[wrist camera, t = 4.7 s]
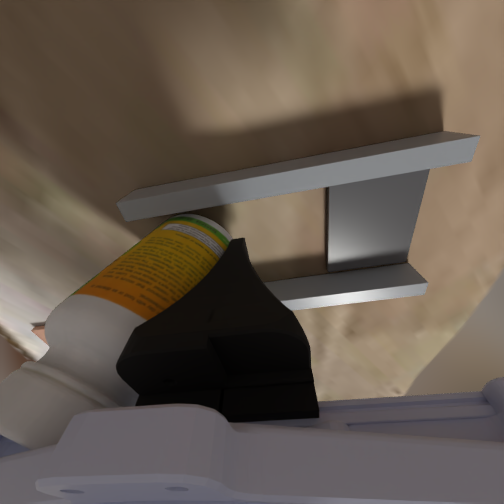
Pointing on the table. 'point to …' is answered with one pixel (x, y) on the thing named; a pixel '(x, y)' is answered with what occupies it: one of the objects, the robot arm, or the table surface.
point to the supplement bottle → (105, 330)
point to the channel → (334, 211)
